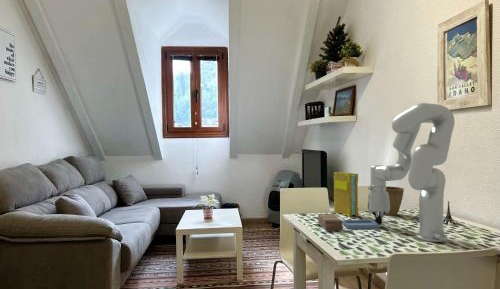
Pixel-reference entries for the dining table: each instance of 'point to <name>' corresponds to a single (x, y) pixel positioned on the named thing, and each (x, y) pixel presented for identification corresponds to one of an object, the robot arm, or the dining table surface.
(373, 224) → the blue tray
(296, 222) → the dining table surface
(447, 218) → the eiffel tower figurine
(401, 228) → the dining table surface
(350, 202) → the book
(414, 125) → the robot arm
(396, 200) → the plant pot
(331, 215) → the brown rectangular block
